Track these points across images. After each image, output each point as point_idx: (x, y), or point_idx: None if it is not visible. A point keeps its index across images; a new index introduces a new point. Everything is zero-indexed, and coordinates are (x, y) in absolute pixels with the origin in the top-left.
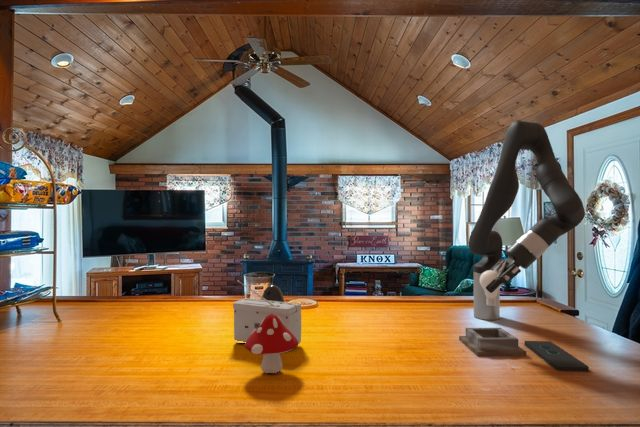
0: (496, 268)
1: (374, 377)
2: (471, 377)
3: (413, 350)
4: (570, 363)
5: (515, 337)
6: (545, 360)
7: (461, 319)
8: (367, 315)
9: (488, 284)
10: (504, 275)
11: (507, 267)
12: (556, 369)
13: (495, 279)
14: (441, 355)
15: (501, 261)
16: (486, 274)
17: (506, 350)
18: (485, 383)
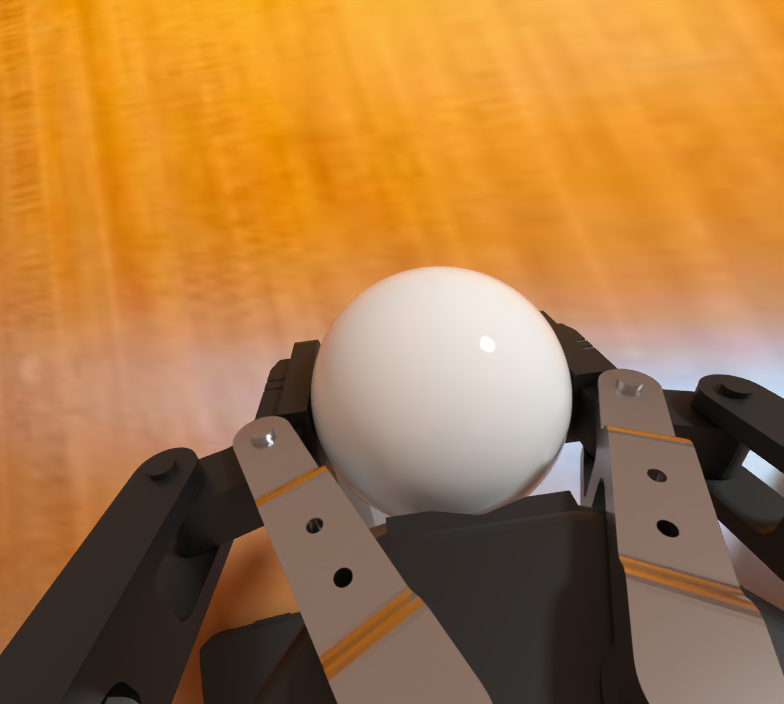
0: (605, 478)
1: (77, 104)
2: (107, 336)
3: (302, 176)
4: None
5: (374, 525)
6: (288, 614)
7: (767, 336)
8: (648, 6)
9: (311, 358)
10: (103, 540)
11: (262, 698)
12: (215, 635)
13: (317, 427)
14: (276, 256)
15: (743, 655)
16: (356, 313)
17: (333, 473)
18: (67, 372)
